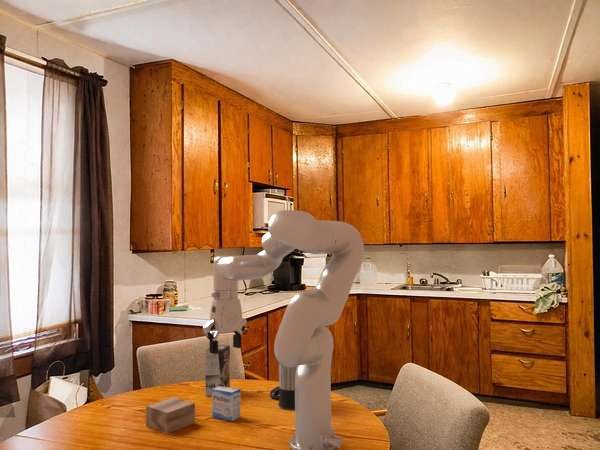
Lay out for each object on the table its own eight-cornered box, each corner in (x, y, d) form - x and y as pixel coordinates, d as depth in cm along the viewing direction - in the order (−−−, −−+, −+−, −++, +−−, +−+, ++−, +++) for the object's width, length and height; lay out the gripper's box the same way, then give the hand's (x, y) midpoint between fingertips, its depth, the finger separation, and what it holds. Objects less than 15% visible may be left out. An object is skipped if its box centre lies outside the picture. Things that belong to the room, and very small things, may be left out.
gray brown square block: (194, 423, 141) (194, 403, 142) (167, 434, 134) (167, 412, 134) (173, 416, 148) (173, 397, 148) (146, 426, 140) (146, 405, 140)
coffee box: (221, 396, 166) (221, 350, 166) (204, 395, 167) (204, 349, 168) (230, 389, 174) (230, 345, 175) (214, 388, 176) (214, 344, 176)
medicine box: (211, 417, 146) (211, 389, 146) (220, 412, 150) (220, 385, 150) (232, 421, 142) (232, 392, 142) (240, 416, 146) (240, 388, 146)
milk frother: (298, 412, 149) (297, 364, 150) (255, 405, 156) (255, 360, 157) (316, 398, 162) (315, 355, 163) (276, 393, 169) (275, 351, 170)
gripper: (212, 298, 138) (212, 357, 138) (253, 293, 152) (253, 347, 151) (195, 297, 143) (195, 353, 142) (237, 292, 156) (237, 344, 156)
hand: (225, 350), depth 147 cm, fingers open, 9 cm apart
